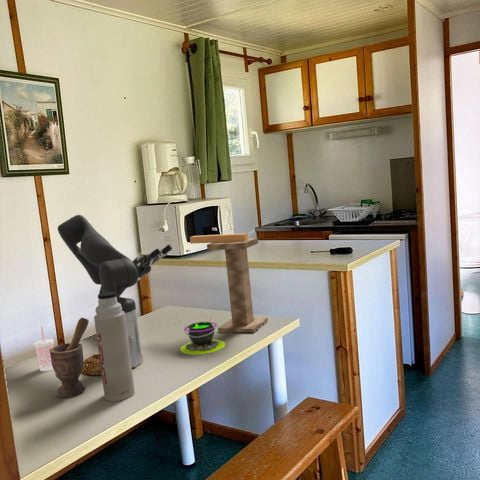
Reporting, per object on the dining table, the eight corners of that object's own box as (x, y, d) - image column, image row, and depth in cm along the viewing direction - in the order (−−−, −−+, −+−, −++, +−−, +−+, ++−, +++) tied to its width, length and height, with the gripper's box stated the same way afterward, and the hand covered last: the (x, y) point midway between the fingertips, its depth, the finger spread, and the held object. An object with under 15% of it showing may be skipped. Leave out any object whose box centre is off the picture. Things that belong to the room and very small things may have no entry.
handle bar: (190, 243, 200) (189, 237, 200) (194, 242, 203) (193, 235, 203) (244, 241, 192) (244, 234, 191) (248, 240, 194) (247, 233, 194)
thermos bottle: (105, 403, 140) (91, 298, 137) (103, 392, 148) (90, 293, 144) (136, 397, 142) (123, 293, 139) (133, 386, 150) (120, 288, 147)
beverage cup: (61, 366, 174) (55, 324, 172) (45, 373, 169) (39, 329, 167) (49, 364, 177) (43, 322, 175) (33, 370, 172) (27, 328, 170)
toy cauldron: (173, 354, 175) (169, 321, 174) (190, 340, 189) (187, 309, 188) (216, 355, 170) (212, 321, 169) (231, 340, 184) (227, 308, 183)
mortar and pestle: (77, 381, 158) (68, 315, 156) (101, 383, 155) (92, 316, 153) (49, 397, 148) (39, 327, 146) (74, 400, 144) (64, 328, 142)
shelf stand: (214, 331, 195) (205, 245, 192) (230, 321, 208) (222, 239, 204) (254, 333, 189) (245, 243, 186) (267, 321, 202) (260, 237, 198)
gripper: (120, 265, 205) (149, 243, 198) (141, 258, 218) (169, 237, 211) (131, 282, 204) (160, 260, 197) (151, 274, 217) (179, 253, 210)
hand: (165, 248), depth 204 cm, fingers open, 8 cm apart
